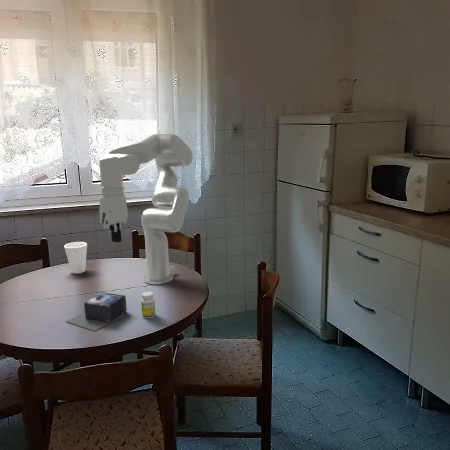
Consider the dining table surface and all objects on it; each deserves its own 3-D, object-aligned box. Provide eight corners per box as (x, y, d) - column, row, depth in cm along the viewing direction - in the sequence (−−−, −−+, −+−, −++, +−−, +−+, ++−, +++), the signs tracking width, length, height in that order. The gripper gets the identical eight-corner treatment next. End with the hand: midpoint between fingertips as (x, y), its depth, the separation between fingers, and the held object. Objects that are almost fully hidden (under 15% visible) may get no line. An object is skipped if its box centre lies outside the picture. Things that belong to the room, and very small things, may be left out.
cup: (68, 269, 207) (65, 242, 204) (90, 267, 209) (87, 241, 206) (65, 276, 197) (62, 248, 194) (89, 274, 200) (86, 246, 197)
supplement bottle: (142, 313, 159) (141, 291, 157) (156, 312, 160) (154, 290, 158) (141, 319, 155) (140, 296, 153) (155, 318, 155) (153, 296, 153)
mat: (96, 307, 165) (96, 306, 165) (124, 315, 158) (124, 314, 158) (66, 322, 153) (65, 321, 153) (94, 331, 146) (94, 330, 146)
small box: (126, 294, 159) (109, 306, 150) (127, 310, 161) (110, 323, 151) (101, 290, 163) (83, 302, 153) (102, 307, 164) (85, 319, 155)
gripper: (119, 187, 164) (123, 235, 169) (89, 194, 152) (93, 245, 156) (135, 189, 161) (138, 237, 165) (105, 195, 148) (109, 248, 153)
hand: (116, 241), depth 161 cm, fingers closed
